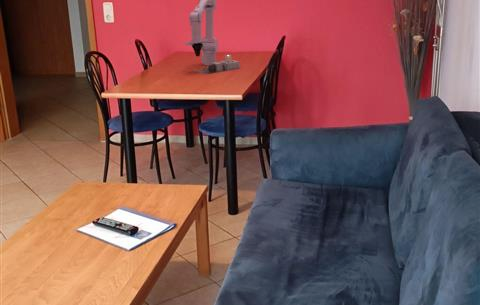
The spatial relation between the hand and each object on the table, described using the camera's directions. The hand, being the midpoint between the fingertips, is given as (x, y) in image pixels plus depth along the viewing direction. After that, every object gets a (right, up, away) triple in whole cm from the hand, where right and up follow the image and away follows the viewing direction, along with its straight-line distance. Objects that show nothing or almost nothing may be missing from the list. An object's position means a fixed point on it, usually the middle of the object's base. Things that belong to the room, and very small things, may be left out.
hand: (197, 56), depth 343 cm
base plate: (+11, -8, +9) cm, 16 cm away
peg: (+18, -5, +11) cm, 22 cm away
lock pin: (+12, -7, +6) cm, 15 cm away
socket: (+19, -5, +11) cm, 22 cm away
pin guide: (+11, -7, +6) cm, 15 cm away
